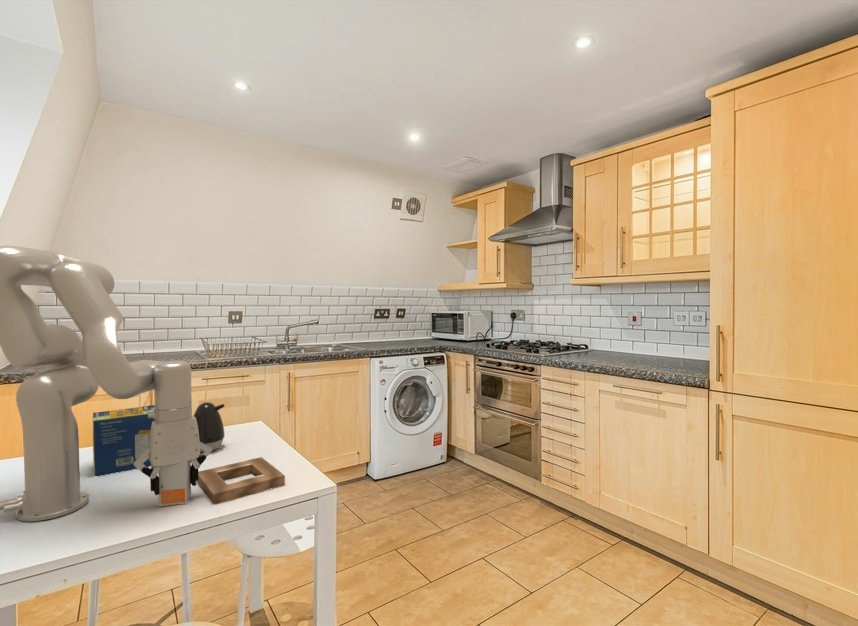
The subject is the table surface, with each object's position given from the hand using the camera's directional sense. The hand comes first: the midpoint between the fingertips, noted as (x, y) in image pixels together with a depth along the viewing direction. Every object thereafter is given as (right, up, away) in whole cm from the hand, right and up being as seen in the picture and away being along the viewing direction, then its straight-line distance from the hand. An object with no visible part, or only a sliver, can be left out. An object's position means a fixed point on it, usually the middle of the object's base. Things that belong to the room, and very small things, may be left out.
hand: (175, 488), depth 104 cm
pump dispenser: (-10, -2, +36) cm, 37 cm away
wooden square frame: (+11, -3, +11) cm, 15 cm away
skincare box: (0, -3, 0) cm, 3 cm away
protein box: (-27, -3, +23) cm, 36 cm away
